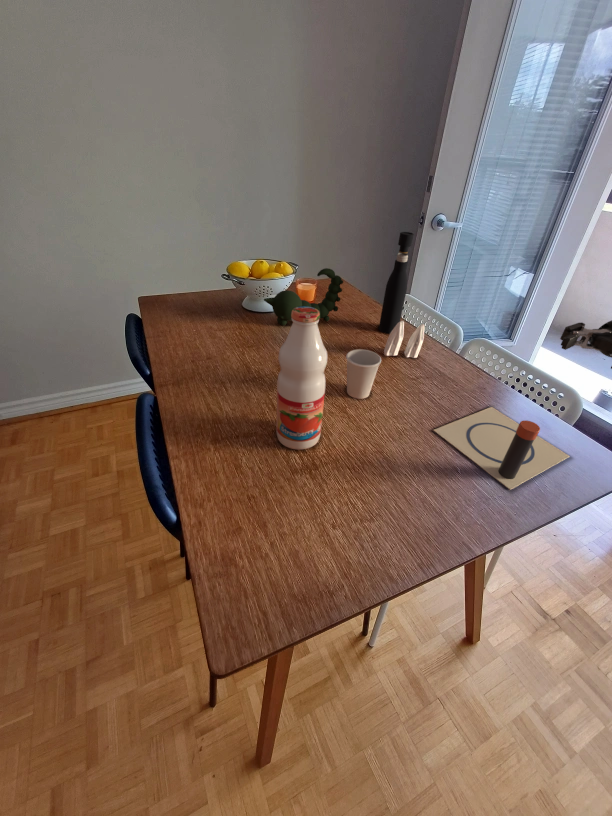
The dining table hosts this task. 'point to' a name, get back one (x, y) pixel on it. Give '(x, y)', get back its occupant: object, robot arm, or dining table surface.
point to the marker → (518, 449)
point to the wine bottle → (396, 287)
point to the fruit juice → (301, 381)
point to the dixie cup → (361, 372)
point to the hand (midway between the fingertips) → (589, 353)
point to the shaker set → (397, 337)
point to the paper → (498, 445)
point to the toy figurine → (290, 300)
